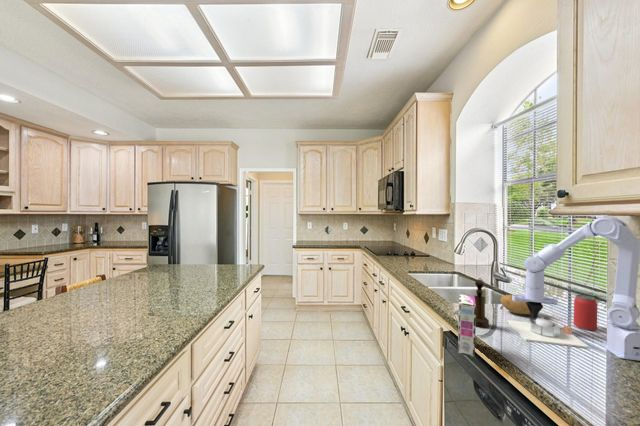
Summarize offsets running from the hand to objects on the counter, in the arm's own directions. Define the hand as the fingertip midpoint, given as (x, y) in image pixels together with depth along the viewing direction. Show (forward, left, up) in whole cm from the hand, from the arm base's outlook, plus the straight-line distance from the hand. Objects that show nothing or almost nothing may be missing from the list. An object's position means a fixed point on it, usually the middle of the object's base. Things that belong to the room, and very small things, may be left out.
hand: (533, 320), depth 108 cm
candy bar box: (-27, +29, -2) cm, 39 cm away
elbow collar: (-4, -1, -1) cm, 4 cm away
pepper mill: (-5, +20, -2) cm, 21 cm away
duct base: (-7, -1, -2) cm, 7 cm away
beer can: (+4, -19, -2) cm, 19 cm away
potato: (+13, 0, -2) cm, 14 cm away
